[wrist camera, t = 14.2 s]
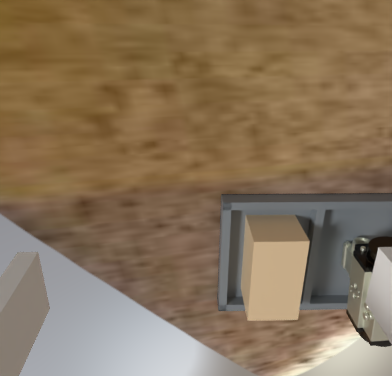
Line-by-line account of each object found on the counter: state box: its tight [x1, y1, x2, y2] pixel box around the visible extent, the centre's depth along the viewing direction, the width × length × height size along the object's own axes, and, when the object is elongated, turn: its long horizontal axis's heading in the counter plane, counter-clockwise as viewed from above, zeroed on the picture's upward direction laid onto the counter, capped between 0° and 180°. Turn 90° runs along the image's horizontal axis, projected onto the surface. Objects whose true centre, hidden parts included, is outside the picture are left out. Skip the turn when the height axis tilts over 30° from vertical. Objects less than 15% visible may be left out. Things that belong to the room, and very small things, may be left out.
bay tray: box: [217, 193, 392, 321], centre depth 46 cm, size 16×23×7 cm
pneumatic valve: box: [341, 236, 392, 347], centre depth 43 cm, size 6×12×12 cm, turn 4°
